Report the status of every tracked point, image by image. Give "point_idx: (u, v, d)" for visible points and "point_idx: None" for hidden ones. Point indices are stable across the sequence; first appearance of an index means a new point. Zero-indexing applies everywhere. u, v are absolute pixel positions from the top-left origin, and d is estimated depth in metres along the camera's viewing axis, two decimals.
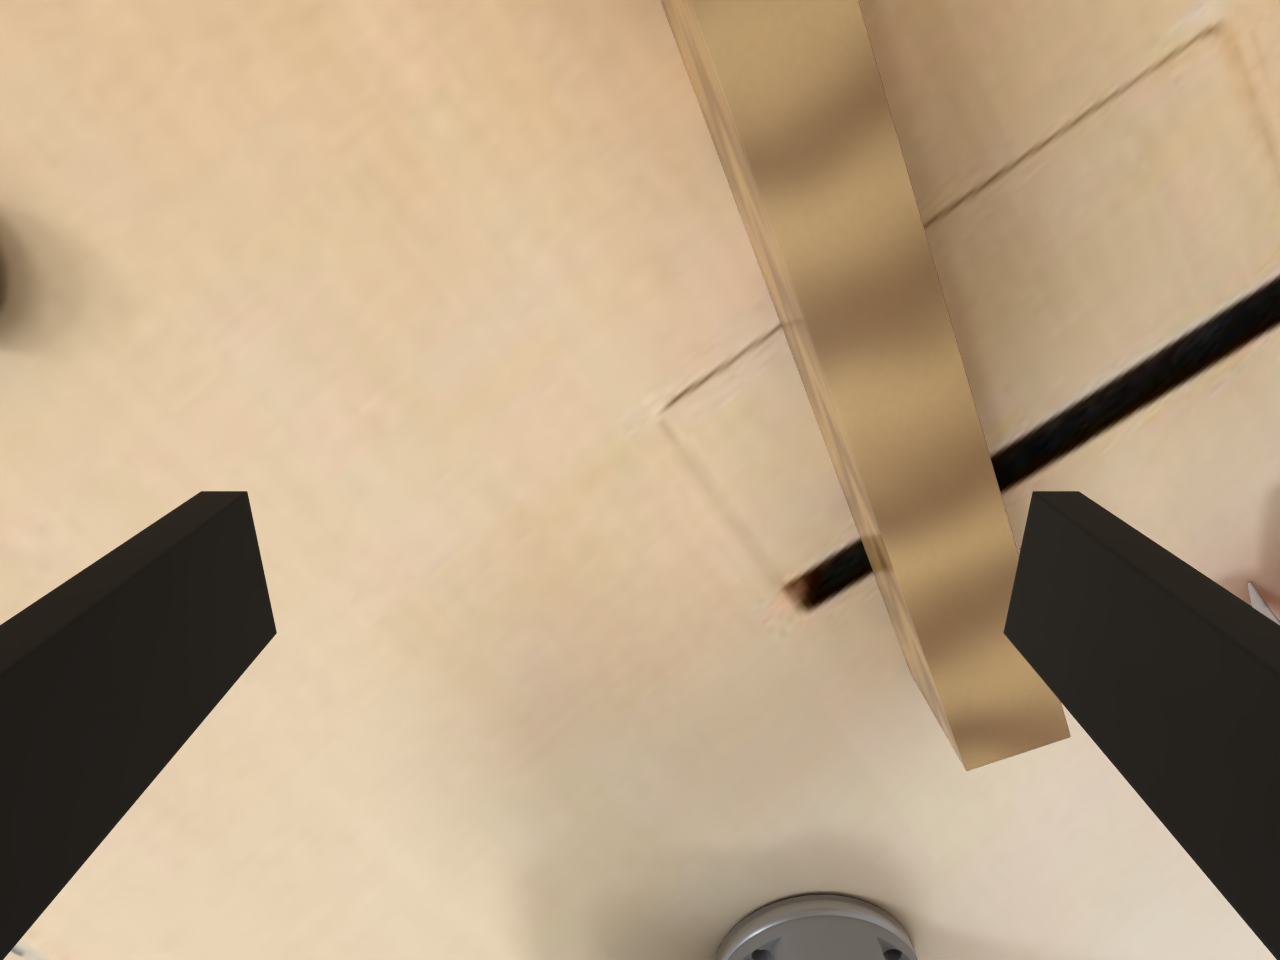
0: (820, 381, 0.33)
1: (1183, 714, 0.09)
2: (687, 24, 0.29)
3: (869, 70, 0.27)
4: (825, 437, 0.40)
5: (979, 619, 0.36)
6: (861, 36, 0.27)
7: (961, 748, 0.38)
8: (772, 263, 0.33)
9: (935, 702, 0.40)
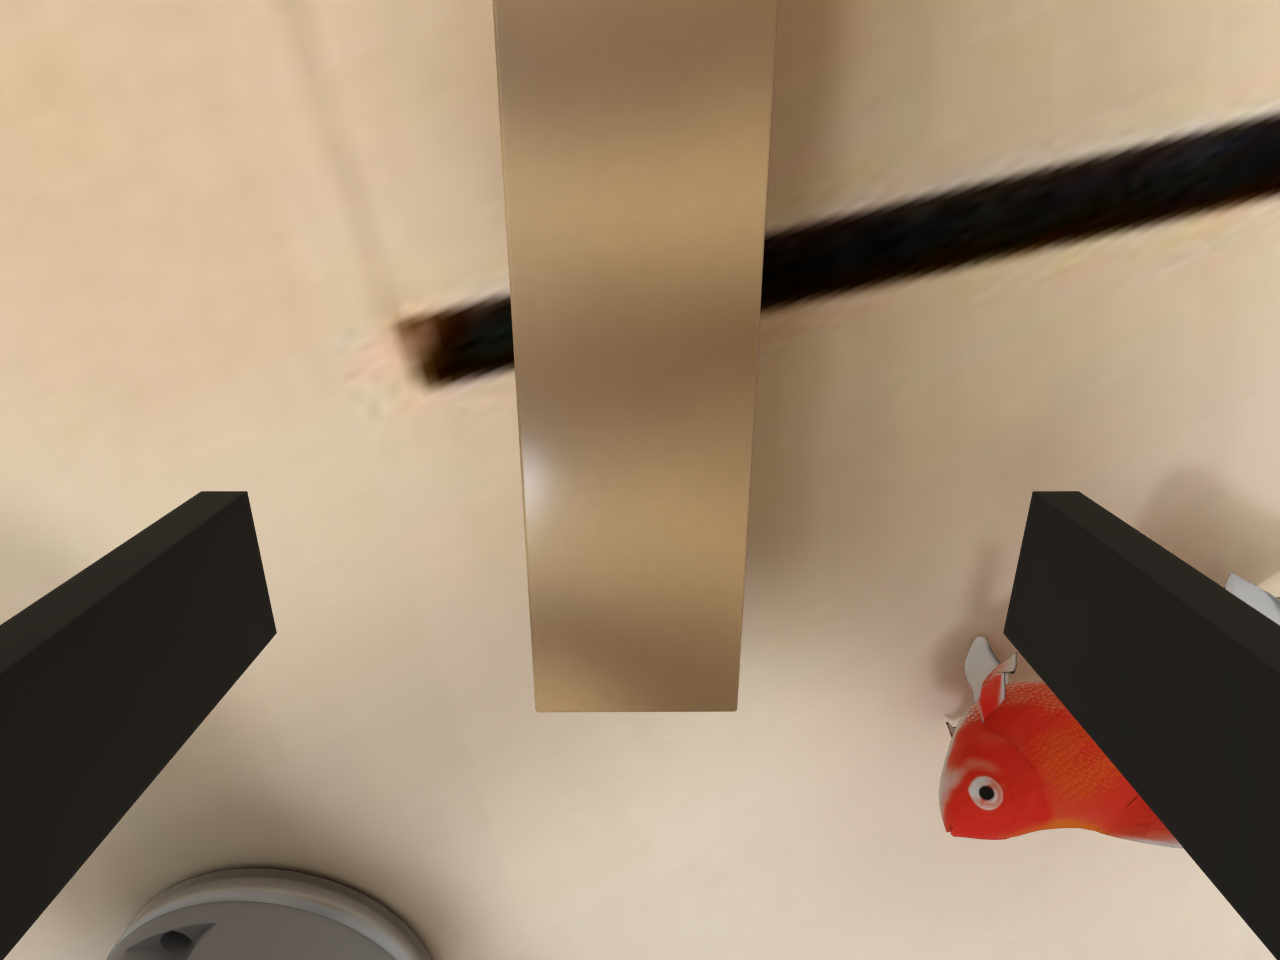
0: None
1: (1182, 714, 0.09)
2: None
3: None
4: None
5: (645, 398, 0.17)
6: None
7: (539, 663, 0.20)
8: None
9: None
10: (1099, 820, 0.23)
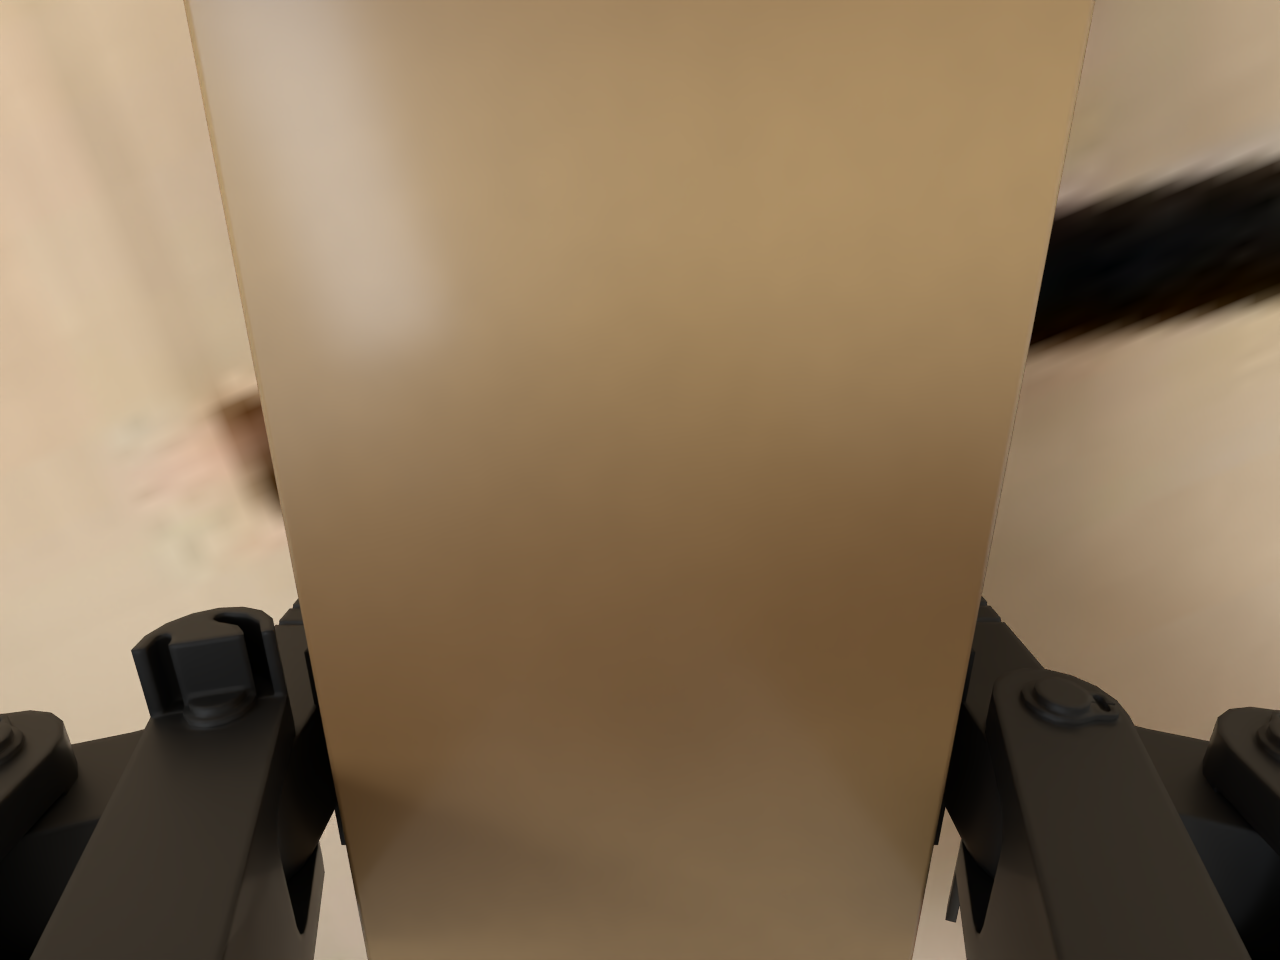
0: None
1: None
2: None
3: None
4: None
5: (666, 717, 0.06)
6: None
7: None
8: None
9: None
10: None
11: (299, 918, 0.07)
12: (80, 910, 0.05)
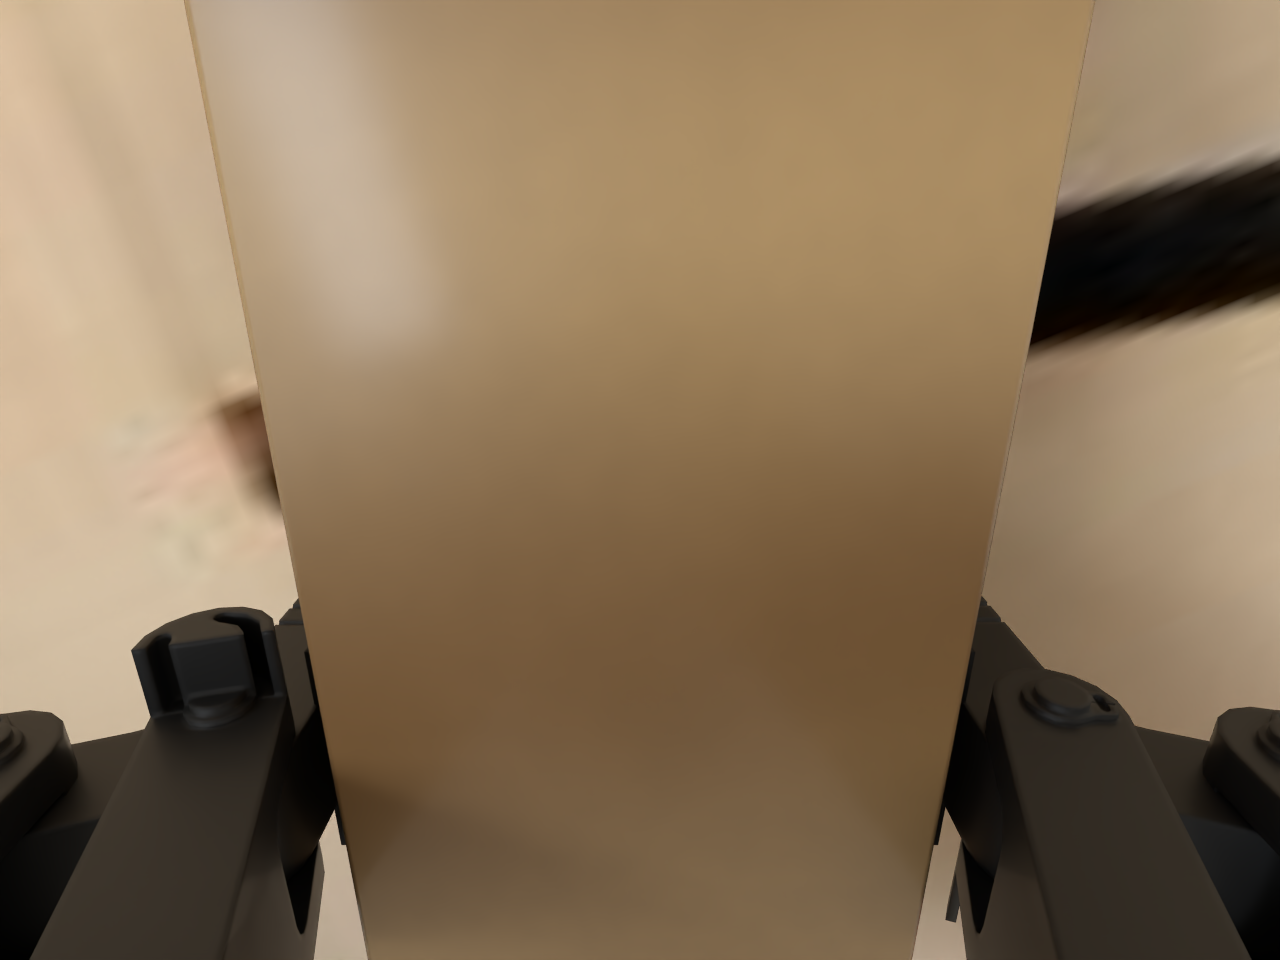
0: None
1: None
2: None
3: None
4: None
5: (665, 717, 0.06)
6: None
7: None
8: None
9: None
10: None
11: (299, 918, 0.07)
12: (80, 910, 0.05)
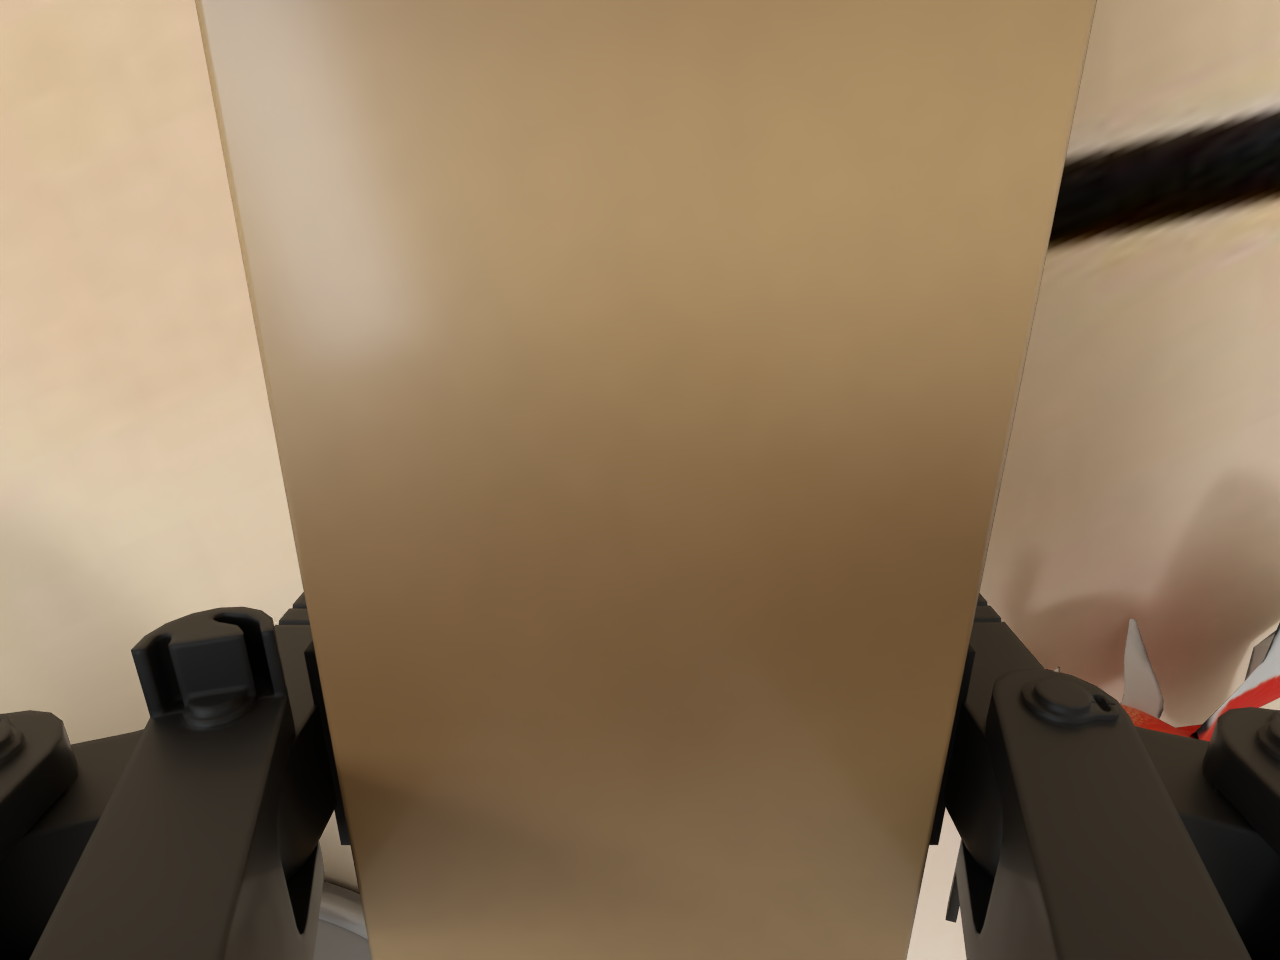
0: None
1: None
2: None
3: None
4: None
5: (666, 709, 0.06)
6: None
7: None
8: None
9: None
10: None
11: (299, 918, 0.07)
12: (80, 910, 0.05)
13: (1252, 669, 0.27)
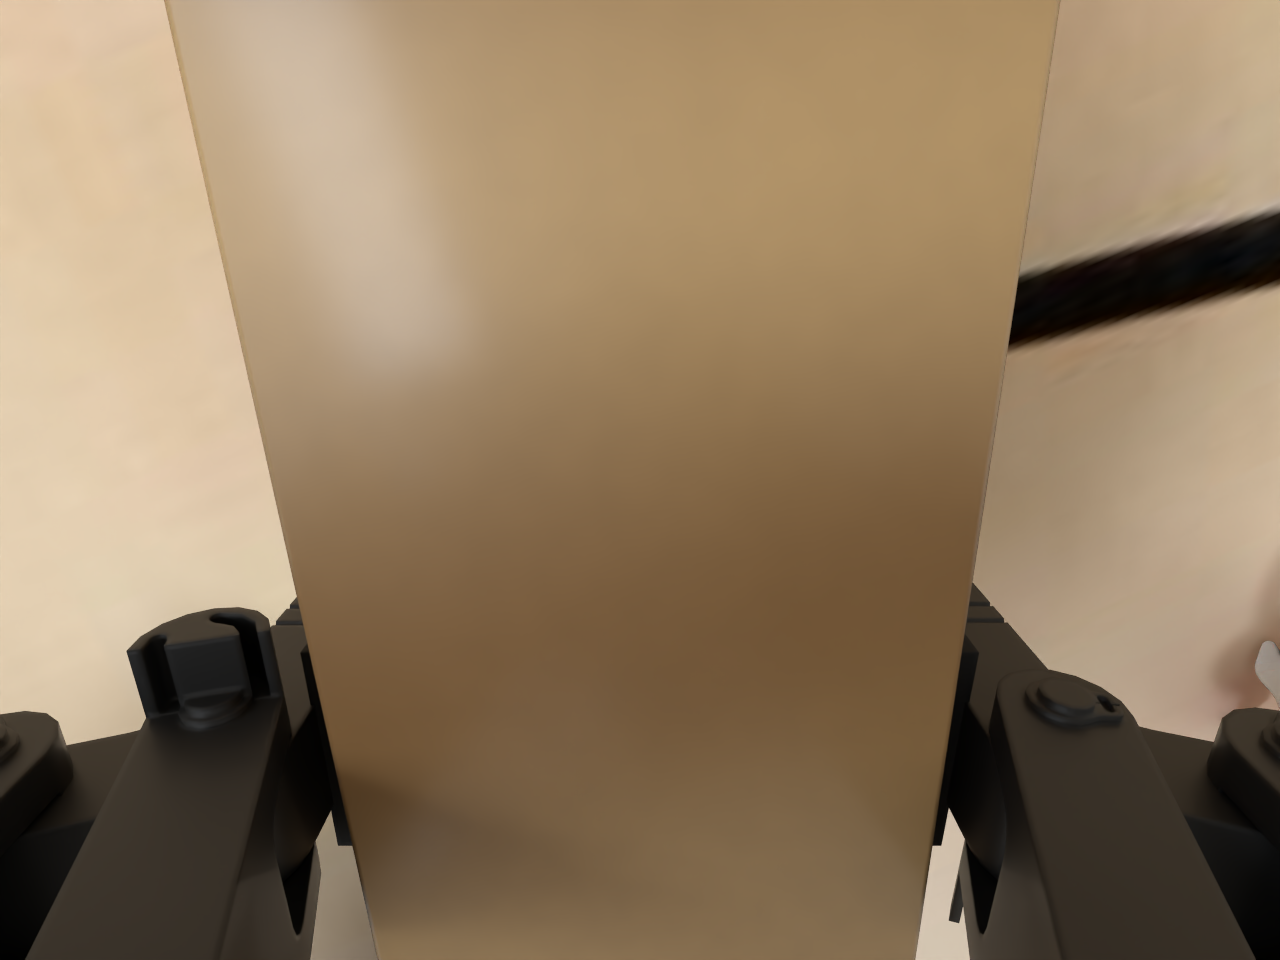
0: None
1: None
2: None
3: None
4: None
5: (661, 696, 0.06)
6: None
7: None
8: None
9: None
10: None
11: (295, 919, 0.07)
12: (75, 911, 0.05)
13: None
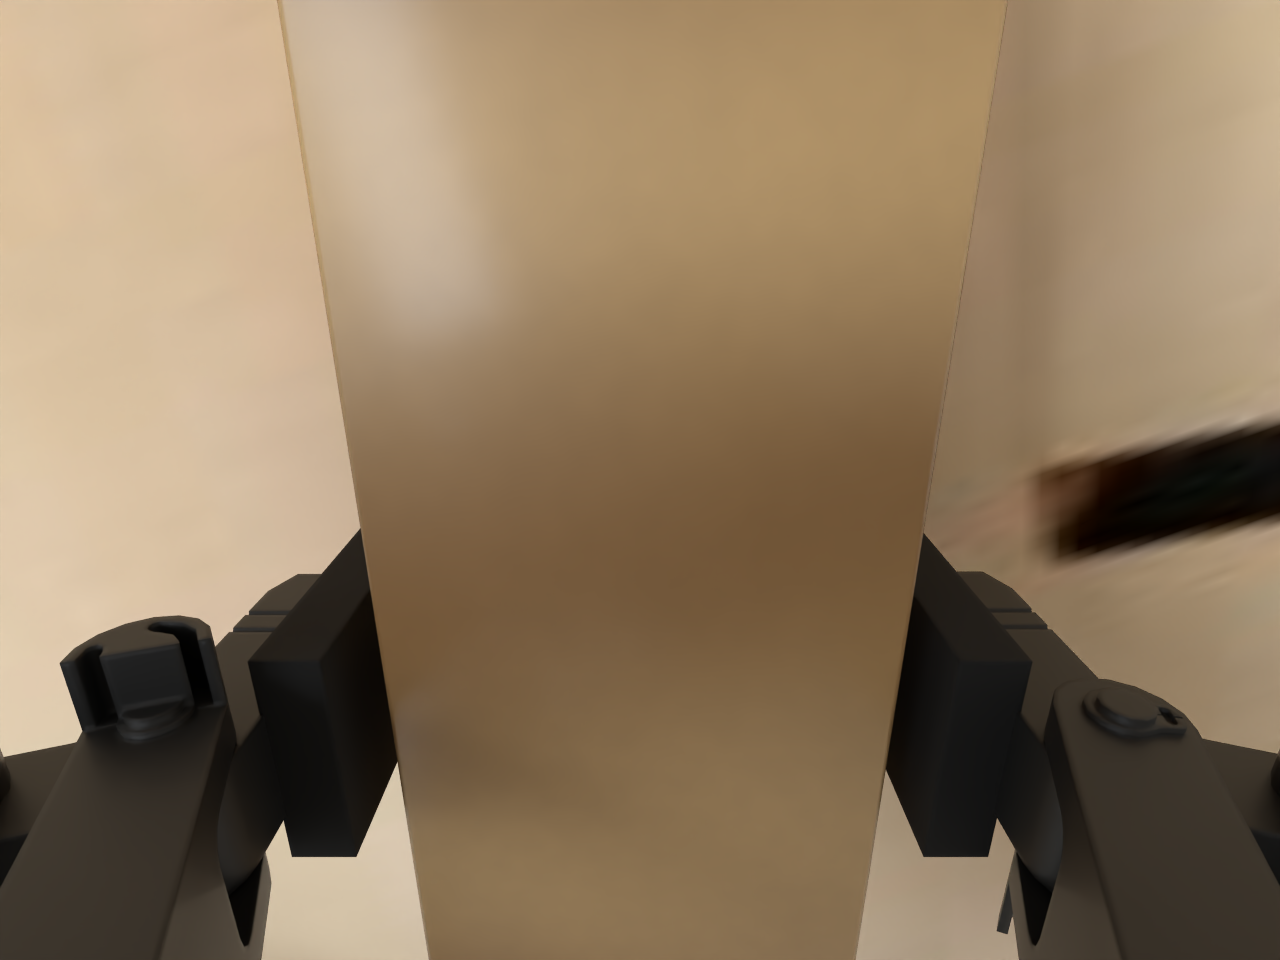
0: None
1: None
2: None
3: None
4: None
5: (663, 602, 0.07)
6: None
7: None
8: None
9: None
10: None
11: (243, 931, 0.07)
12: (4, 932, 0.05)
13: None
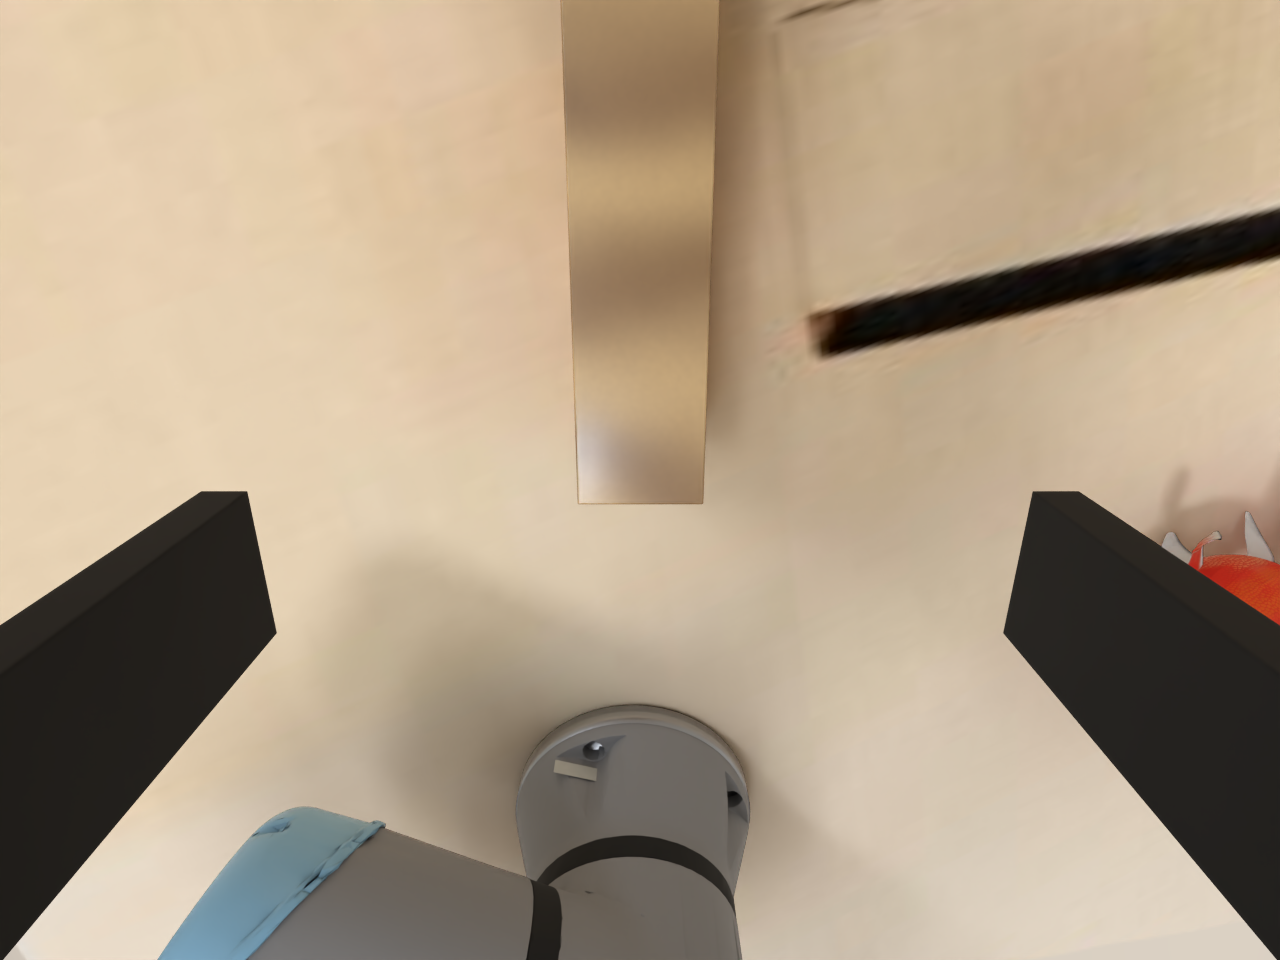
0: None
1: (1181, 714, 0.09)
2: None
3: None
4: None
5: (645, 299, 0.29)
6: None
7: (580, 470, 0.32)
8: None
9: None
10: None
11: None
12: None
13: None
